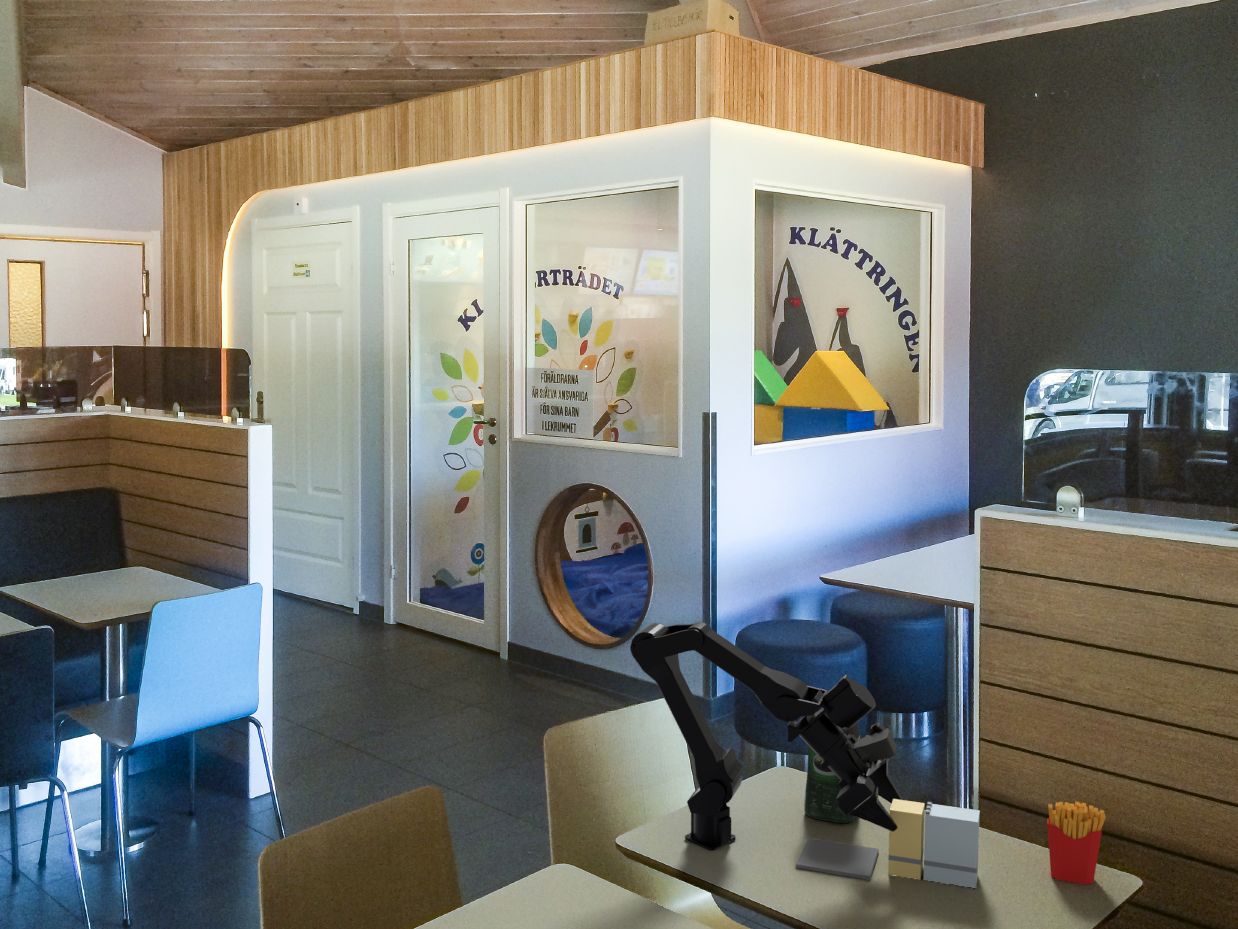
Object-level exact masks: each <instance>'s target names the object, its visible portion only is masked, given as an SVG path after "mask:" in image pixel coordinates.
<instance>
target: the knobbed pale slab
mask: <svg viewBox="0 0 1238 929" xmlns="http://www.w3.org/2000/svg"><path fill="white" fill-rule="evenodd" d="M980 811H981V810H978V809H973V808H972V809H971V808H966V807H964V808H963V807H955V806H949V805H943V804H942V805H941V804H936V803H935V804H934V803H933V802H932V801H927V805H926V808H925V812H924V847H923V848H924V852H923V881H924V880H928V881H927V882H930V881H935V882H934V883H937V882H941V883H940V884H943V883H948V884H947V885H949V884H956V885H959V886H958V887H961V886H965V887H964V888H967V887H972V888H971V889H973V888H976V889H977V885H976V884H978V877H977V876H979V875H978V873H979V872H978V871H979V849H980V848H979V840H980V839H979V838H980V814H981V813H980Z"/></svg>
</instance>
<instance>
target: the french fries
mask: <svg viewBox="0 0 1238 929" xmlns="http://www.w3.org/2000/svg"><path fill="white" fill-rule="evenodd" d="M1074 802H1075V803H1069V802H1067V801H1059V802H1055V809H1053V804H1052V803H1048V804H1047V805H1048V806H1047V807H1048V815H1049V817H1048V818H1047V821H1046V822H1047V824H1046V825H1047V834H1048V835H1047V837H1048V838H1047V839H1048V840H1047V841H1048V853H1049V864H1050V866H1049V867H1050V877H1052V878H1054V879H1055V880H1058V881H1061V882H1066V883H1067V882H1068V883H1073V884H1080V885H1091V884H1094V880H1095V874H1096V869H1097V863H1098V858H1099V852H1100V846H1101V838H1102V834H1103V831H1102V830H1103V829H1102V828H1103V826H1104V823H1105V820H1106V819H1107V818H1106V814H1105V810H1103V809H1100V810H1099V808H1098V807H1094V805H1090V804H1089V806H1087V803H1086V802H1082V803H1081V802H1079V801H1074Z"/></svg>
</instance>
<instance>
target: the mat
mask: <svg viewBox="0 0 1238 929" xmlns="http://www.w3.org/2000/svg"><path fill="white" fill-rule="evenodd" d="M879 850H880V848H875V847H869V846H863V845H857V844H856V845H855V844H852V843H851V844H850V843H843V842H837V841H831V840H823V839H816V838H811V837H807V839H806V841H805V843H804V845H803V847H802V850H801V852H800V853H799V856H798V858H797V861H796V863H795V868H796V869H801V870H802V869H803V870H806V871H807V870H809V871H815V872H820V873H827V874H833V875H839V876H844V877H845V876H846V877H851V878H856V879H863V880H870V881H871V878H872V875H873V871H874V868H875V866H876V861H877V858H878V856H879V853H878V852H879Z"/></svg>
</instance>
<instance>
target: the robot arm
mask: <svg viewBox="0 0 1238 929" xmlns="http://www.w3.org/2000/svg"><path fill="white" fill-rule="evenodd" d="M629 650H630V653H631V657H632V658H633V659H634V660H635V662H636V663H637V665H638V667H640V669H641V670H642V671H643V673H645V674H646V675H647V676H648V677H649V678H651V679H652V680H653V681H654V682H655V683H656V685H657V687H658V688H659V691H660V693H661V694H662V697H663V698H664V700H665V703H666V705H667V706H668V708H669V711H670V712H671V715H672V717H673V719H674V721H675V723H676V725H677V727H678V728H679V731H680V732H681V735H682V737H683V738H684V741H685V743H686V745H687V746H688V749H689V750H690V752H691V755H692V757H693V762H694V771H695V772H694V773H695V778H696V781H697V785H698V786H697V787H696V789H695V790H694V792H692V794H691V795H690V797H689V798H688V799H687V801H686V803H687V806H688V809H689V811H690V832H689V833H687V834H685V835H684V840H687V841H689V842H691V843H694V844H695V845H698V846H700V847H703V848H704V849H706V850H710V851H714V850H717V849H719V848H721V847H722V846H725V845H727V844H728V843H730V842H732V841H734V840H736V839H737V836H736V835H735V834H734V833H732V817H731V808H730V806H728V804H729V803H730V801H731V800H732V799H733V798H734V795H735V794H736V792H737V791H738V789H739V788H740V787H741V785H742V781H743V773H742V769H743V768H744V766H743V765H742V764H741V763H740V761H739V759H738V758H737V756H736V753H735V750H734V748H733V747H729V748H727V749H724V748H723V747H722V746H720V744H719V743H718V742H717V740H716V739H715V736H714V735H713V733H712V731H711V729H710V727H709V724H708V722H707V720H706V719H705V717H704V715H703V713H702V711H701V709H700V706H699V704H698V703H697V701H696V699H695V697H694V695H693V693H692V691H691V689H690V687H689V685H688V683H687V681H686V679H685V677H684V675H683V673H682V670H681V667H680V659H679V654H682V653H685V652H691V651H695V652H696V653H697V654H699V655H700V656H702V657H703V658H705V659H706V660H707V661H710V663H712V664H714V666H716V667H718V668H719V669H721V670H722V671H724V672H725V673H726V674H728V675H729V676H731V677H732V678H734V679H735V680H736V681H737V682H739V683H741V684H742V685H743V686H745V687H747V688H748V689H750V691H752V693H753V694H754V695H755V696H756V698H757V699H758V701H759V703H760V704H761V705H762V706H763V707H764V708H765V709H766V710H767V711H768V712H769V713H771V715H772V716H774V718H776V719H777V720H778V721H780V722H784V723H788V724H787V726H786V729H787V742H788V743H792V742H793V741H794V740H795V739H797V738H798V737H800V738H801V739H802V741H804V742H805V744H806V743H807V744H808V745H809V746H810V748H811V749H812V750H813V751H814V752H815V753H816V754H817V755H818V756H819V757H820V758H821V759H822V762H821V764H820V765H821V766H822V767H823V768H824V769H826V768H827V767H829V768H830V769H831V770H832V771H833V773H834V774H835V775H836V776H837V777H838V778H839V779H840V781H839V783H838V784H839V785H840V786H841V788H842V789H841V790H840V792H839V794H838V796H837V798H836V807H837V808H838V809H839V811H840V812H841V813H842V814H843V815H844V816H846V815H847V814H848V815H849V816H855V817H856V818H859V819H861V820H864V821H866V822H870V823H871V824H874V825H876V826H879V827H880V828H882V829H885V830H887V831H889V830H890V831H892V832H894V831H895V830H896V829H897V828H898V827H897V825H896V823H895V822H894V820H893V819H892V817H891V816H890V812H888V811H887V809H886V808H885V806H884V805H883V804H882V802H881V801H880V800H879V797H881V798H882V799H883V800H885V801H887V802H889V803H890V804H892V801H893V799H898V800H903V799H902V796H901V795H900V792H899V791H898V789H897V787H896V785H895V784H894V781H893V780H892V777H891V776H890V774H889V771H888V770H889V759H890V758H893V757H894V756H895V755H896V751H897V750H898V746H897V744H896V742H895V739H894V732H893V731H891V730H890V728H889V727H887V728H886V727H885V726H884V725H883V724H882V723H881V722H876V723H873V724H872V725H871V726H870V728H869V734H866V735H865V737H861V738H860V739H859V740H858V739H857V738H856V737H855V736H854V735H851V734H849V735H848V736H847V735H846V734H845V733H844V732H843V731H842V730H841V729H840V728H839V727H841V728H844V727H846V728H851V727H852V726H853V725H855V724H856V723H857V722H858V723H859V721H861V720H862V719H863V718H864V717H865V716H867V715H868V714H869V713H870V712H871V711H872V710H874V708H876V706H877V703H876V701H875V697H874V696H873V695H872V693H871V692H870V691H869V689H868V688H867V687H866V686H865V685H863V684H861V683H859V681H857V680H855V679H851V677H850V676H849V675H848V674H844V675H843V676H842V677H841V678H840V679H839V681H838V682H837V683H836V684H835V685H833V687H831V688H830V689H829V690H826V689H823V688H820V687H814V686H811V685H807V684H806V683H805V682H804V681H803V680H801V679H799V678H797V677H794V676H792V675H790V673H786V672H784V671H780V670H777V669H773V668H770V667H768V666H765V665H764V664H763V663H761V662H760V661H758V660H757V659H756V658H754V657H752V656H751V655H749V653H747V652H745V651H744V650H742V649H741V648H740V647H738V646H736V645H735V644H733V642H731V641H729V640H728V639H726V638H725V637H724V636H722V635H720V634H719V633H718V632H716V631H715V630H713V629H712V628H711V627H710V626H709V624H707V623H705V622H701V621H698V622H694V623H685V624H683V623H682V624H681V623H680V624H673V625H672V624H671V625H664V624H661V623H652V624H649V625H648V626H646V627H645V628H644V629H642V630H641V631H639V632H638V633H637V634H635V635H634V637H633V638H632V639H631V643H630V645H629ZM816 712H817V713H816ZM800 717H801V718H800ZM799 718H800V719H799ZM797 720H798V721H797Z"/></svg>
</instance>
